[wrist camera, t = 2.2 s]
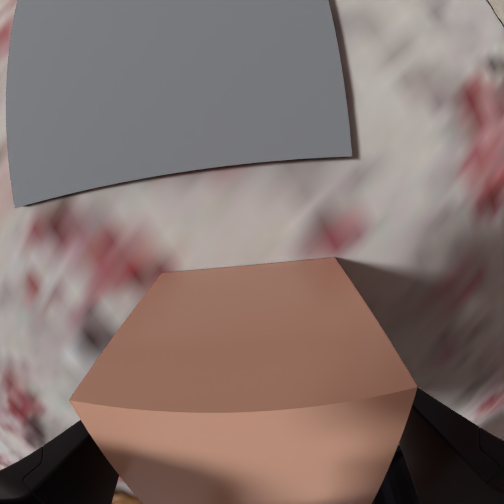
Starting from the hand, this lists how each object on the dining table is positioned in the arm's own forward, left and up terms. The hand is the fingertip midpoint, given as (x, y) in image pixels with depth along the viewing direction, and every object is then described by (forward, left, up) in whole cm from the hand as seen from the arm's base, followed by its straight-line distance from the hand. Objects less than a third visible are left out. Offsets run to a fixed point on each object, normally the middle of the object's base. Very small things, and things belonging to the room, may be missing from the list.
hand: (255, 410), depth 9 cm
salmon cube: (0, 0, -4) cm, 4 cm away
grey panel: (+3, -13, -4) cm, 14 cm away
